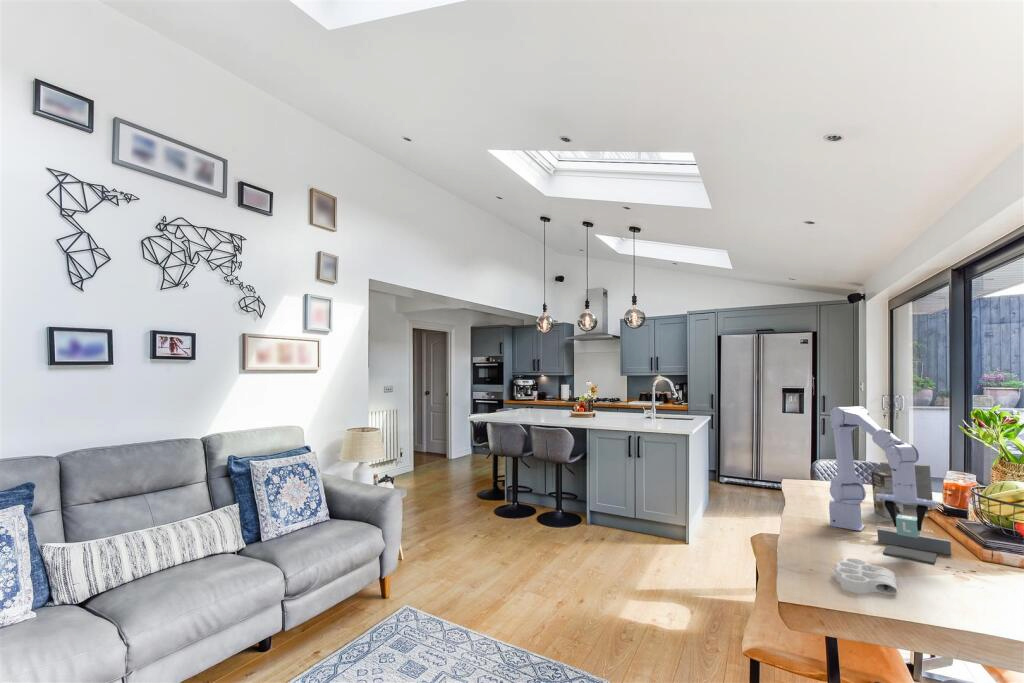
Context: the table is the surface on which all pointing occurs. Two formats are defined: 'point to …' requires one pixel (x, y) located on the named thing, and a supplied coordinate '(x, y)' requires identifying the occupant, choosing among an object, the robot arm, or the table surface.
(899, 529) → the letter cube
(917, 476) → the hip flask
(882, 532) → the panel
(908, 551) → the mat
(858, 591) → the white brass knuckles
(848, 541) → the table surface
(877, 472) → the coffee box
